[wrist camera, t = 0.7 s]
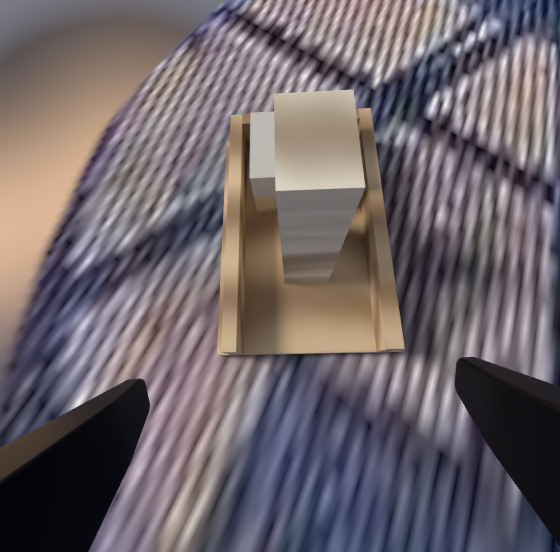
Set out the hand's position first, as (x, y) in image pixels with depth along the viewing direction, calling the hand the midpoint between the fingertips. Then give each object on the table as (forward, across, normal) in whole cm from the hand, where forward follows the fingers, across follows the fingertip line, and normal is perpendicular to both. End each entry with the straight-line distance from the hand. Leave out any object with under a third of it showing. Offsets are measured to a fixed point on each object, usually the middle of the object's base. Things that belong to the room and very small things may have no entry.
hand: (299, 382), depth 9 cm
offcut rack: (+19, -2, -2) cm, 19 cm away
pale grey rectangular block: (+17, -2, 0) cm, 17 cm away
